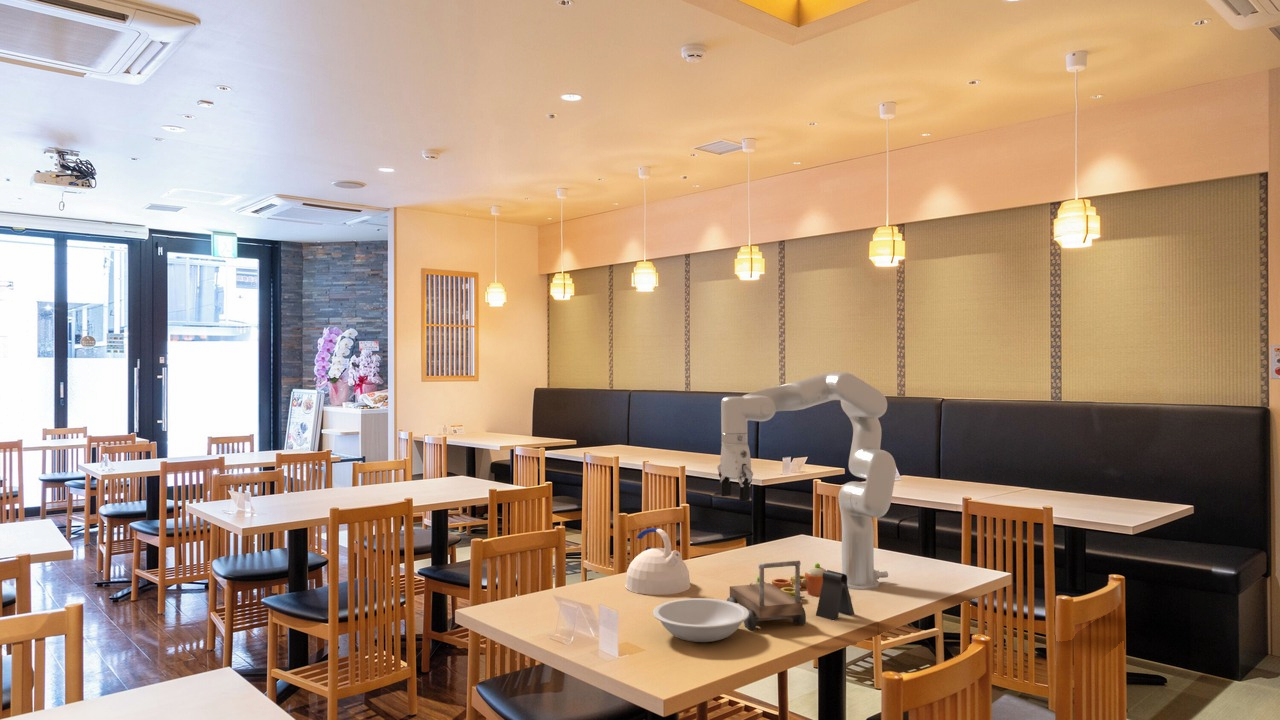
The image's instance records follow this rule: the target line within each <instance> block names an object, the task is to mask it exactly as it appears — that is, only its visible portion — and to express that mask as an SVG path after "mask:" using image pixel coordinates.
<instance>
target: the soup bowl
mask: <svg viewBox="0 0 1280 720" xmlns="http://www.w3.org/2000/svg"><path fill="white" fill-rule="evenodd" d="M652 614H653V616H654V618H655V619H656V620H658V621H660V623H661V624H662V626H663V627H664V629H666V630H667V632H669V633H670V634H671V635H673V636H674V637H676V638H678V639H680V640H685V641H687V642H696V643H711V642H716V641H721V640H723V639H726V638H728V637H730V636H732V635H733V634H734V633H735V632H736V631H737V630H738V629H739V628H740V626H741V624H742V623H744V621H745V620H746V619H747V618H748V617H749V611H748V610H747V609H746V608H745V607H743V606H742V605H739V604H737V603H733V602H729V601H727V600H724V599H717V598H716V599H715V598H700V597H699V598H698V597H697V598H696V597H695V598H681V599H674V600H670V601H666V602H663V603H661V604H659V605H657V606H655V607H654V609H653V612H652Z"/></svg>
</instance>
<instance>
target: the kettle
mask: <svg viewBox="0 0 1280 720" xmlns="http://www.w3.org/2000/svg"><path fill="white" fill-rule="evenodd" d="M651 533H657V534H658V535H659V536H660V537H661V539H662V541H663V546H664V548H662V547H650V546H647V547H645V549H644V550H643V551H641V552H640V553H639V554H638V555H636V556H635V557H634V559H633V560H632V561H631V562H630V563H629V565H628V568H627V571H626V577H625V586H624V587H625V588H626V589H627V590H628V591H630V592H632V593H635V594H640V595H648V596H649V595H650V596H666V595H675V594H680V593H684V592H686V591H689V589H690V588H691V587H692V586H691V585H692V584H691V578H690V571H689V569H688V566H687V564H686V563H685V561H684V560H683V559H682V554H681V552H680V551H679V550H675V549H674V550H672V543H671V539H670V537H669V534H668V533H667V532H666V531H665V530H663V529H662V528H659V527H649V528H647V529H644V530H642V531H641V532H640V533H639V534H637V536H636V539H638V540H641V539H643V538H644V537H645V536H647V535H648V534H651Z"/></svg>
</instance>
